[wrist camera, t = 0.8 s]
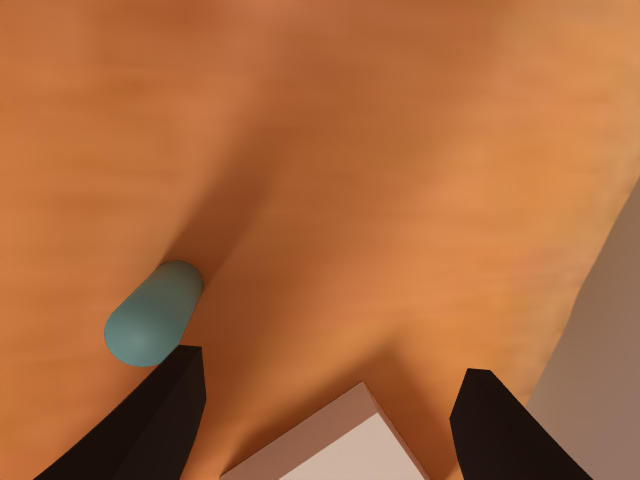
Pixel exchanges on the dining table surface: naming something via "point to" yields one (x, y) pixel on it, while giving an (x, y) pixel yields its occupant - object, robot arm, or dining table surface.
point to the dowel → (154, 315)
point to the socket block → (336, 446)
